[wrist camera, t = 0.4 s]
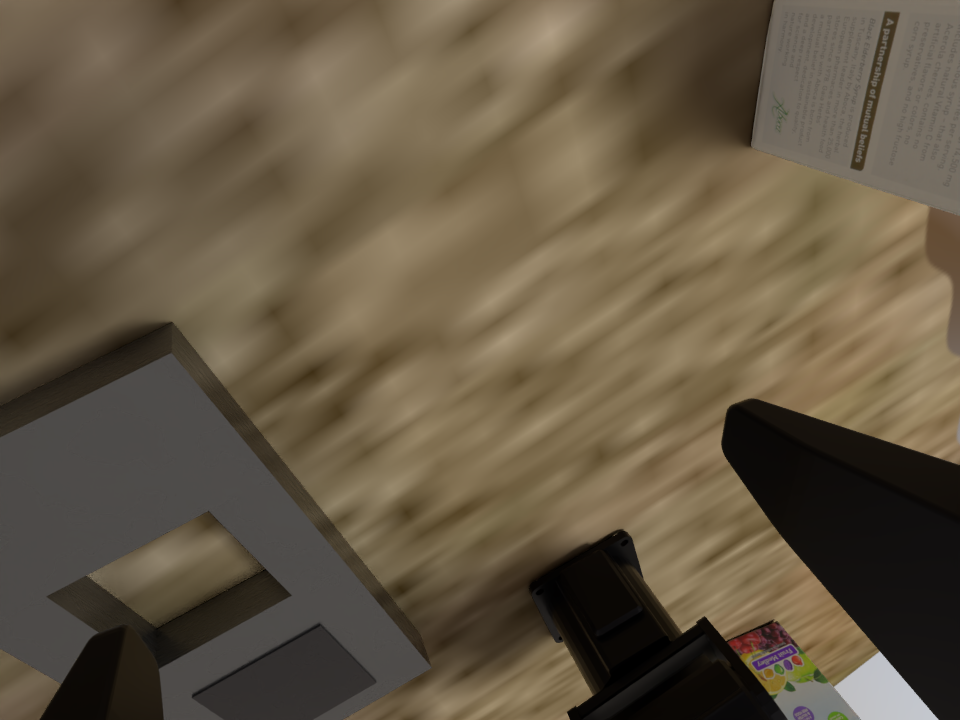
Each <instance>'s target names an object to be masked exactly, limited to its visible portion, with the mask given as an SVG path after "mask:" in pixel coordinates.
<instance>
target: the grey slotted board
mask: <svg viewBox="0 0 960 720" xmlns="http://www.w3.org/2000/svg"><path fill="white" fill-rule="evenodd" d="M207 511H209V512H210V513H211V514H212V515H213V516H214V517H215V518H216V519H217V520H218V521H219V522H220V523H221V524H222V525H223V526H224V527H225V528H226V529H227V530H228V531H229V532H230V533H231V534H232V535H233V536H234V537H235V538H236V539H237V540H238V541H239V542H240V543H241V544H242V545H243V546H244V547H245V548H246V549H247V550H248V551H249V552H250V553H251V554H252V555H253V556H254V557H255V558H256V559H257V560H258V561H259V562H260V563H261V564H262V565H263V566H264V568H265V569H266V570H265V571H263V572H261V573H259V574H257V575H255V576H254V577H252V578H250V579H248V580H246V581H244V582H243V583H241V584H239V585H237V586H235V587H233V588H232V589H230V590H228V591H226V592H224V593H222V594H221V595H219V596H217V597H215V598H213V599H211V600H210V601H208V602H206V603H204V604H202V605H200V606H199V607H197V608H195V609H193V610H191V611H189V612H188V613H186V614H184V615H182V616H180V617H178V618H177V619H175V620H173V621H171V622H169V623H167V624H166V625H164V626H162V627H160V628H158V629H156V628H155V627H154V626H152V625H151V624H150V623H148V622H147V621H146V620H144V619H143V618H142V617H140V616H139V615H138V614H136V613H135V612H134V611H132V610H131V609H130V608H128V607H127V606H126V605H124V604H123V603H122V602H120V601H119V600H118V599H116V598H115V597H114V596H112V595H111V594H110V593H108V592H107V591H106V590H104V589H103V588H102V587H100V586H99V585H98V584H96V583H95V582H94V581H92V580H91V579H89V578H88V577H87V576H86V575H88V574H90V573H92V572H94V571H96V570H97V569H99V568H101V567H103V566H105V565H107V564H109V563H111V562H113V561H114V560H116V559H118V558H120V557H122V556H124V555H126V554H128V553H130V552H132V551H133V550H135V549H137V548H139V547H141V546H143V545H145V544H147V543H149V542H150V541H152V540H154V539H156V538H158V537H160V536H162V535H164V534H166V533H168V532H169V531H171V530H173V529H175V528H177V527H179V526H181V525H183V524H185V523H186V522H188V521H190V520H192V519H194V518H196V517H198V516H200V515H202V514H204V513H205V512H207ZM121 624H129V625H131V626H132V627H133V628H134V629H135V630H136V632H137V633H138V635H139V636H140V637H141V639H142V640H143V642H144V643H145V645H146V646H147V647H148V649H149V650H150V652H151V653H152V654H153V656H154V657H155V659H156V662H157V665H158V668H159V673H160V682H161V693H162V704H163V715H164V720H343V719H345V718H346V717H348V716H350V715H352V714H353V713H355V712H357V711H358V710H360V709H362V708H364V707H365V706H367V705H369V704H370V703H372V702H374V701H376V700H377V699H379V698H381V697H382V696H384V695H386V694H388V693H389V692H391V691H393V690H394V689H396V688H398V687H400V686H401V685H403V684H405V683H407V682H408V681H410V680H412V679H413V678H415V677H417V676H419V675H420V674H422V673H424V672H425V671H427V670H429V669H431V668H432V667H431V664H430V661H429V658H428V655H427V652H426V650H425V647H424V644H423V641H422V638H421V635H420V634H419V632H418V631H417V630H416V629H415V627H414V626H413V625H412V623H411V622H410V621H409V620H408V618H407V617H406V616H405V615H404V613H403V612H402V611H401V610H400V608H399V607H398V606H397V605H396V603H395V602H394V601H393V599H392V598H391V597H390V596H389V594H388V593H387V592H386V591H385V589H384V588H383V587H382V586H381V584H380V583H379V582H378V581H377V579H376V578H375V577H374V576H373V574H372V573H371V572H370V570H369V569H368V568H367V567H366V565H365V564H364V563H363V562H362V560H361V559H360V558H359V557H358V555H357V554H356V553H355V552H354V550H353V549H352V548H351V546H350V545H349V544H348V543H347V541H346V540H345V539H344V538H343V536H342V535H341V534H340V533H339V531H338V530H337V529H336V528H335V526H334V525H333V524H332V523H331V521H330V520H329V519H328V517H327V516H326V515H325V514H324V512H323V511H322V510H321V509H320V507H319V506H318V505H317V504H316V502H315V501H314V500H313V499H312V497H311V496H310V495H309V493H308V492H307V491H306V490H305V488H304V487H303V486H302V485H301V483H300V482H299V481H298V480H297V478H296V477H295V476H294V475H293V473H292V472H291V471H290V470H289V468H288V467H287V466H286V464H285V463H284V462H283V461H282V459H281V458H280V457H279V456H278V454H277V453H276V452H275V451H274V449H273V448H272V447H271V446H270V444H269V443H268V442H267V440H266V439H265V438H264V437H263V435H262V434H261V433H260V432H259V430H258V429H257V428H256V427H255V425H254V424H253V423H252V422H251V420H250V419H249V418H248V417H247V415H246V414H245V413H244V411H243V410H242V409H241V408H240V406H239V405H238V404H237V403H236V401H235V400H234V399H233V398H232V396H231V395H230V394H229V393H228V391H227V390H226V389H225V387H224V386H223V385H222V384H221V382H220V381H219V380H218V379H217V377H216V376H215V375H214V374H213V372H212V371H211V370H210V369H209V367H208V366H207V365H206V363H205V362H204V361H203V360H202V358H201V357H200V356H199V355H198V353H197V352H196V351H195V350H194V348H193V347H192V346H191V345H190V343H189V342H188V341H187V340H186V338H185V337H184V336H183V334H182V333H181V332H180V331H179V329H178V328H177V327H176V326H175V324H174V323H173V322H172V323H170V324H168V325H166V326H164V327H162V328H160V329H158V330H156V331H154V332H152V333H150V334H148V335H145V336H143V337H141V338H139V339H137V340H135V341H133V342H131V343H129V344H127V345H125V346H123V347H121V348H119V349H117V350H115V351H113V352H111V353H109V354H107V355H104V356H102V357H100V358H98V359H96V360H94V361H92V362H90V363H88V364H86V365H84V366H82V367H80V368H78V369H76V370H74V371H72V372H70V373H68V374H66V375H64V376H61V377H59V378H57V379H55V380H53V381H51V382H49V383H47V384H45V385H43V386H41V387H39V388H37V389H35V390H33V391H31V392H29V393H27V394H25V395H23V396H21V397H18V398H16V399H14V400H12V401H10V402H8V403H6V404H4V405H2V406H0V649H2V650H3V651H5V652H7V653H9V654H10V655H12V656H14V657H16V658H17V659H19V660H21V661H23V662H24V663H26V664H28V665H30V666H31V667H33V668H35V669H36V670H38V671H40V672H42V673H43V674H45V675H47V676H49V677H50V678H52V679H54V680H56V681H57V682H59V683H61V684H62V682H63V681H64V679H65V677H66V676H67V674H68V672H69V671H70V669H71V668H72V666H73V664H74V663H75V661H76V659H77V658H78V656H79V655H80V653H81V651H82V650H83V648H84V646H85V645H86V643H87V642H88V640H89V639H90V638H91V637H92V636H94V635H95V634H97V633H99V632H102V631H105V630H107V629H110V628H113V627H116V626H119V625H121Z"/></svg>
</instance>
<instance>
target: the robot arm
mask: <svg viewBox="0 0 960 720" xmlns="http://www.w3.org/2000/svg"><path fill="white" fill-rule="evenodd" d="M721 445H722V450H723V453H724V455H725V457H726V459H727V460H728V462H729V463H730V465H731V466H732V467H733V469H734V470H735V472H736V473H737V475H738V476H739V477H740V479H741V480H742V482H743V483H744V485H745V486H746V487H747V489H748V490H749V492H750V493H751V495H752V496H753V497H754V499H755V500H756V502H757V503H758V505H759V506H760V507H761V509H762V510H763V512H764V513H765V515H766V516H767V517H768V519H769V520H770V522H771V523H772V524H773V526H774V527H775V528H776V530H777V531H778V532H779V534H780V535H781V536H782V537H783V539H784V540H785V541H786V542H787V543H788V545H789V546H790V547H791V548H792V549H793V551H794V552H795V553H796V554H797V555H798V556H799V558H800V559H801V560H802V561H803V562H804V563H805V565H806V566H807V567H808V568H809V569H810V570H811V572H812V573H813V574H814V575H815V576H816V577H817V579H818V580H819V581H820V582H821V583H822V584H823V586H824V587H825V588H826V589H827V590H828V591H829V593H830V594H831V595H832V596H833V597H834V598H835V599H836V601H837V602H838V603H839V604H840V605H841V606H842V608H843V609H844V610H845V611H846V612H847V613H848V615H849V616H850V617H851V618H852V619H853V620H854V622H855V623H856V624H857V625H858V626H859V627H860V629H861V630H862V631H863V632H864V633H865V634H866V636H867V637H868V638H869V639H870V640H871V641H872V643H873V644H874V645H875V646H876V647H877V648H878V650H879V651H880V652H881V653H882V654H883V655H884V656H885V658H886V659H887V660H888V661H889V662H890V664H891V665H892V666H893V667H894V668H895V669H896V671H897V672H898V673H899V674H900V675H901V676H902V678H903V679H904V680H905V681H906V682H907V683H908V684H909V686H910V687H911V688H912V689H913V690H914V692H915V693H916V694H917V695H918V696H919V697H920V698H921V700H922V701H923V702H924V703H925V704H926V705H927V707H928V708H929V709H930V710H931V711H932V712H933V714H934V715H935V716H936V717H937V718H938V719H939V720H960V465H958V464H955V463H952V462H949V461H946V460H942V459H939V458H936V457H933V456H930V455H927V454H924V453H921V452H918V451H915V450H912V449H909V448H906V447H903V446H899V445H896V444H893V443H890V442H887V441H884V440H881V439H878V438H875V437H872V436H869V435H866V434H863V433H860V432H856V431H853V430H850V429H847V428H844V427H841V426H838V425H835V424H832V423H829V422H826V421H823V420H820V419H817V418H813V417H810V416H807V415H804V414H801V413H798V412H795V411H792V410H789V409H786V408H783V407H780V406H777V405H774V404H770V403H767V402H764V401H761V400H758V399H746V400H744V401H741V402H738V403H735V404H733V405H731V406H730V407H729V408H728V409H727V412H726V417H725V423H724V429H723V435H722V441H721ZM529 592H530V594H531V596H532V598H533V600H534V601H535V603H536V605H537V607H538V609H539V611H540V613H541V615H542V617H543V619H544V621H545V623H546V625H547V627H548V629H549V631H550V633H551V635H552V637H553V638H554V640H555V642H556V643H560V642H563V641H564V643H565V645H566V646H567V648H568V650H569V652H570V654H571V656H572V657H573V659H574V661H575V663H576V665H577V667H578V668H579V670H580V672H581V674H582V676H583V677H584V679H585V681H586V683H587V685H588V687H589V688H590V690H591V692H592V694H593V696H592V697H591V698H589V699H588V700H587V701H585V702H584V703H582V704H581V705H579V706H578V707H576V706H575V707H573V708H572V709H570V710H569V711H567V713H568V716H569V718H570V720H788V719H787V718H786V716H785V715H784V713H783V712H782V711H781V709H780V708H779V706H778V705H777V704H776V702H775V701H774V700H773V698H772V697H771V696H770V694H769V693H768V692H767V690H766V689H765V688H764V686H763V685H762V684H761V683H760V681H759V680H758V679H757V678H756V676H755V675H754V674H753V673H752V672H751V670H750V669H749V668H748V667H747V666H746V664H745V663H744V662H743V661H742V660H741V659H740V657H739V656H738V655H737V654H736V653H735V651H734V650H733V649H732V648H731V647H730V646H729V644H728V643H727V642H726V641H725V640H724V638H723V637H722V636H721V635H720V634H719V633H718V631H717V630H716V629H715V628H714V627H713V625H712V624H711V623H710V622H709V621H708V619H707V618H706V617H705V616H704V617H703V618H701V619H700V620H698V621H697V622H696V623H697V624H696V625H695V626H693V627H692V628H690V629H689V630H687V631H686V632H684V633H682V632H681V631H680V629H679V628H678V626H677V625H676V624H675V622H674V621H673V620H672V618H671V617H670V615H669V614H668V613H667V611H666V610H665V609H664V607H663V606H662V604H661V603H660V602H659V600H658V599H657V598H656V596H655V595H654V594H653V592H652V591H651V589H650V588H649V587H648V585H647V584H646V583H645V581H644V579H643V575H642V572H641V568H640V565H639V561H638V558H637V554H636V551H635V547H634V544H633V540H632V538H631V536H630V535H629V534H628V533H627V532H626V531H623V532H620V533H618V534H617V535H615V536H613V537H611V538H610V539H608V540H606V541H604V542H603V543H601V544H599V545H597V546H596V547H594V548H592V549H591V550H589V551H587V552H585V553H584V554H582V555H580V556H578V557H577V558H575V559H573V560H571V561H570V562H568V563H566V564H565V565H563V566H561V567H559V568H558V569H556V570H554V571H552V572H551V573H549V574H547V575H545V576H544V577H542V578H540V579H539V580H537V581H535V582H534V583H532V584H531V585H530V587H529ZM40 720H164V715H163V704H162V693H161V682H160V673H159V668H158V665H157V662H156V659H155V657H154V656H153V654H152V653H151V652H150V650H149V649H148V647H147V646H146V645H145V643H144V642H143V640H142V639H141V637H140V636H139V635H138V633H137V632H136V630H135V629H134V628H133V627H132V626H131V625H129V624H121V625H119V626H116V627H113V628H110V629H107V630H105V631H102V632H99V633H97V634H95V635H94V636H92V637H91V638H90V639H89V640H88V642H87V643H86V645H85V646H84V648H83V650H82V651H81V653H80V655H79V656H78V658H77V659H76V661H75V663H74V664H73V666H72V668H71V669H70V671H69V672H68V674H67V676H66V677H65V679H64V681H63V682H62V684H61V685H60V687H59V689H58V690H57V692H56V694H55V695H54V697H53V699H52V700H51V702H50V703H49V705H48V707H47V708H46V710H45V712H44V713H43V715H42V716H41V718H40Z"/></svg>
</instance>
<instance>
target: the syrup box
mask: <svg viewBox="0 0 960 720" xmlns="http://www.w3.org/2000/svg"><path fill="white" fill-rule="evenodd" d="M751 147H753V148H754V149H756V150H759V151H762V152H765V153H768V154H771V155H774V156H777V157H780V158H783V159H786V160H789V161H793V162H795V163H798V164H801V165H804V166H807V167H810V168H812V169H816V170H819V171H822V172H825V173H828V174H831V175H834V176H837V177H840V178H844V179H847V180H850V181H853V182H856V183H859V184H862V185H865V186H868V187H871V188H874V189H877V190H880V191H884V192H887V193H890V194H893V195H896V196H899V197H903V198H906V199H909V200H912V201H915V202H918V203H921V204H925V205H928V206H931V207H934V208H937V209H940V210H943V211H947V212H950V213H953V214H956V215H959V216H960V0H774V3H773V8H772V14H771V19H770V23H769V29H768V34H767V39H766V45H765V51H764V58H763V65H762V71H761V78H760V85H759V92H758V99H757V106H756V113H755V120H754V126H753V134H752V142H751Z"/></svg>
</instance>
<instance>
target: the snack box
mask: <svg viewBox="0 0 960 720" xmlns="http://www.w3.org/2000/svg"><path fill="white" fill-rule="evenodd" d="M727 643H728V644H729V646H730V647H731V648H732V649H733V650H734V651H735V653H736V654H737V655H738V656H739V657H740V659H741V660H742V661H743V662H744V663H745V664H746V666H747V667H748V668H749V669H750V670H751V672H752V673H753V674H754V675H755V676H756V678H757V679H758V680H759V681H760V683H761V684H762V685H763V686H764V688H765V689H766V690H767V692H768V693H769V694H770V696H771V697H772V698H773V700H774V701H775V702H776V704H777V705H778V706H779V708H780V709H781V711H782V712H783V713H784V715H785V716H786V718H787V719H788V720H861V719H860V718H859V717H858V715H856V713H855V712H854V711H853V710H852V709H851V707H850V706H849V705H848V704H847V703H846V701H845V700H844V699H843V698H842V697H841V695H840V694H839V693H838V692H837V691H836V689H835V688H834V687H833V686H832V685H831V684H830V683H829V681H828V680H827V679H826V678H825V676H824V675H823V674H822V673H821V672H820V671H819V670H818V668H817V667H816V666H815V665H814V664H813V663H812V661H811V660H810V659H809V658H808V657H807V655H806V654H805V653H804V652H803V651H802V650H801V648H800V647H799V646H798V645H797V644H796V643H795V641H794V640H793V639H792V638H791V637H790V635H789V634H788V633H787V632H786V631H785V630H784V628H783V627H782V626H781V625H780V624H779V622H778V621H776V622H774V623H772V624H770V625H767V626H764V627H762V628H760V629H757V630H754V631H752V632H749V633H747V634H744V635H742V636H739V637H737V638H735V639H732V640H730V641H728V642H727Z"/></svg>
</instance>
